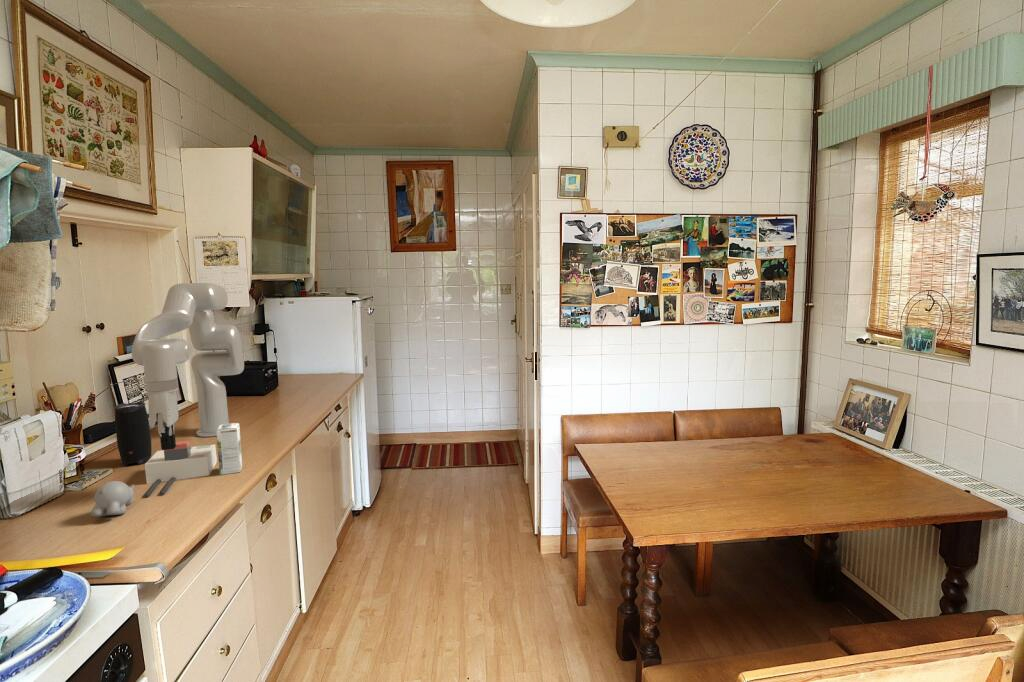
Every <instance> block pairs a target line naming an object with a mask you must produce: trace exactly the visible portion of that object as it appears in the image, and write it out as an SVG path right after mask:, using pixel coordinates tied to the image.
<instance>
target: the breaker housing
mask: <svg viewBox="0 0 1024 682" xmlns="http://www.w3.org/2000/svg"><path fill="white" fill-rule="evenodd" d="M190 451H191V455H190V456H189V457H188V458H181V459H173V460H165V457H164V450H162V449H161V450H156V451H155V453H154V454H152V455H151V458H150V459H149V460H148V461H147V462H146V463H144V469H145V470H144V471H145V472H144V473H145V479H146V484H148V485H149V484H154V483H155V482H156V480H157V479H161V482H160V483H163V482H168V481H169V480H170V479H171V478H172V477H175V481H178V480H185V479H194V478H200V477H201V478H202V477H209V476H210V474H212V471H213V470H214V468H215V466H216V464H217V463H218V459H217V446H216V444H215V443H214V444H206V445H198V446H190Z"/></svg>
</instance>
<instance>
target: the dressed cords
mask: <svg viewBox="0 0 1024 682" xmlns="http://www.w3.org/2000/svg"><path fill="white" fill-rule="evenodd" d="M175 481H176V480H175V477H172V478H171V479H170V480H169V481H167V483H166V484H165V485H164V487H163V488H162V489H161V490H160V492H159V494H160V495H161V496H164V495H165V494H166V493H167V492H168V490H169V488H170V487H171V486H172V485H173V483H174V482H175ZM161 483H162V482H161V479H157V480H156V482H155V483H152V485H151V486H150V487H149V489H148V490H147V491H146V493H145V494H144V497H145V498H149V497H150V496H151V495H152V494H153V493H154V491H155V489H157V487H158V486H159V485H160V484H161Z"/></svg>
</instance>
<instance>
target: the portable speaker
mask: <svg viewBox="0 0 1024 682" xmlns="http://www.w3.org/2000/svg"><path fill="white" fill-rule="evenodd" d="M114 426H115V427H114V428H115V436H116V443H117V449H118V453H119V457H120V461H121V465H122V466H125V467H128V466H129V465H131V464H136V463H137V464H138V465H142V464H145V463H146V462H147V461H148V460H149V459H150V458H151V457H152V435H151V434H152V433H151V428H150V426H149V414H148V412H147V408H146V402H144V401H137V402H132V403H125V402H124V403H119V404H117V405H115V406H114Z"/></svg>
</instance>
